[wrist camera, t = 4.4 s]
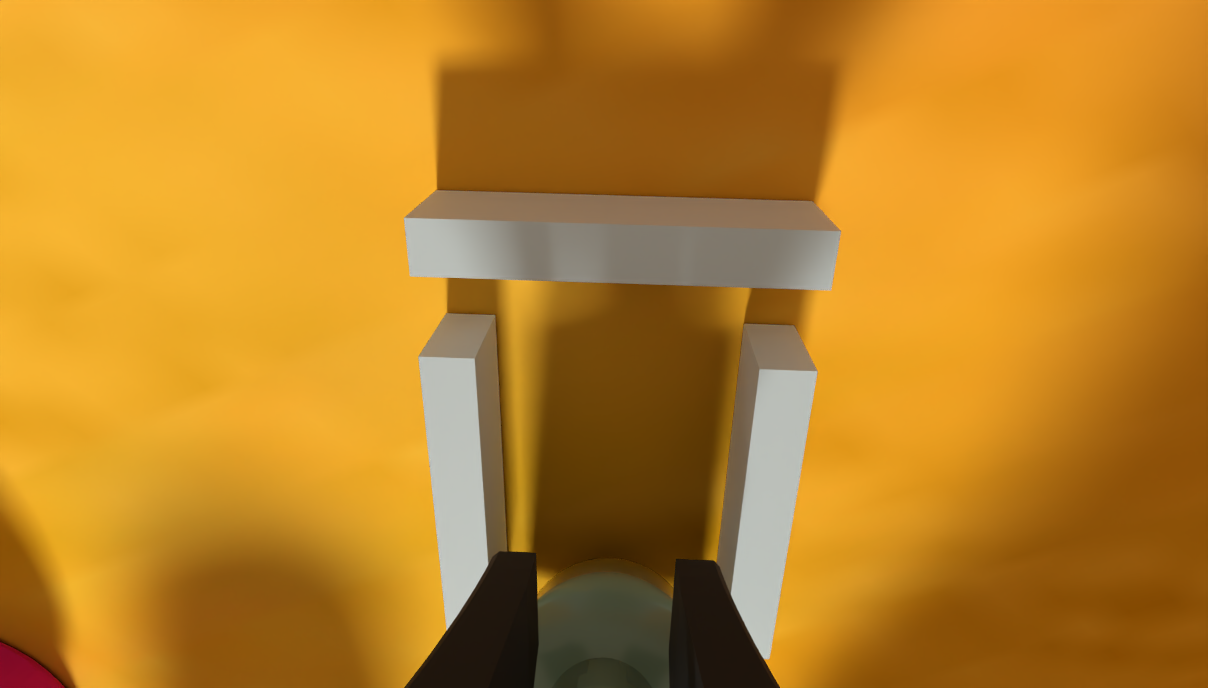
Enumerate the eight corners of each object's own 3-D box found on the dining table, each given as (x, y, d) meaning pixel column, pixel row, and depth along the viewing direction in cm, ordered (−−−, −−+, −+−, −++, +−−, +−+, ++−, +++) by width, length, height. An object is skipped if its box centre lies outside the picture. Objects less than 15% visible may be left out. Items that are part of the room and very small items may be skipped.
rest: (812, 201, 13) (841, 231, 11) (755, 590, 17) (769, 659, 15) (436, 189, 13) (404, 217, 11) (468, 577, 17) (448, 643, 15)
